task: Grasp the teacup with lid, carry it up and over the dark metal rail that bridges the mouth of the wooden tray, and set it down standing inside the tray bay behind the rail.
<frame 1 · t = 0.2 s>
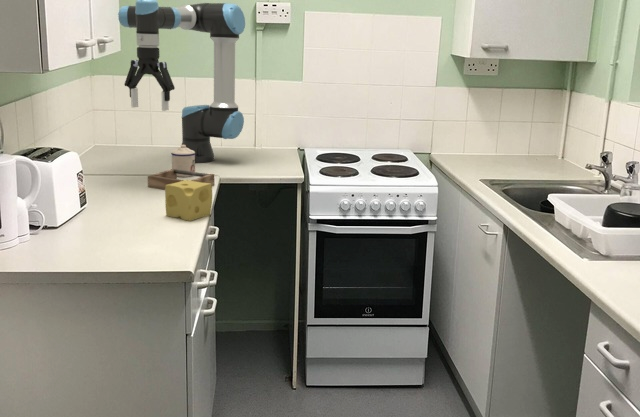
hand: (149, 108, 245), 27 cm above the counter, fingers open, 13 cm apart
wooden tray: (181, 186, 252), on the counter
teacup with lid: (183, 174, 272), on the counter
cheese: (188, 215, 216), on the counter
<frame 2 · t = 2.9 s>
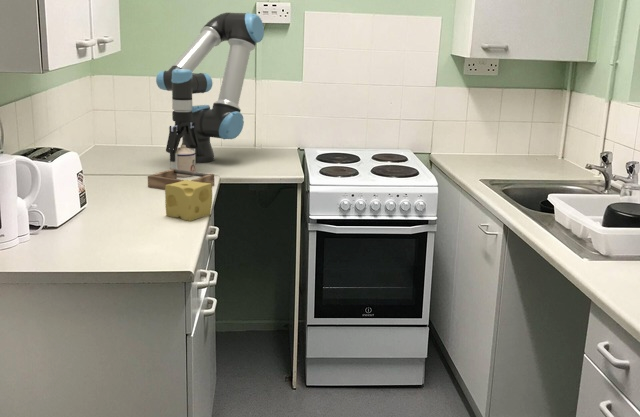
hand: (183, 167, 271), 3 cm above the counter, fingers open, 11 cm apart
teacup with lid: (183, 174, 272), on the counter, touching gripper
everything else where it was.
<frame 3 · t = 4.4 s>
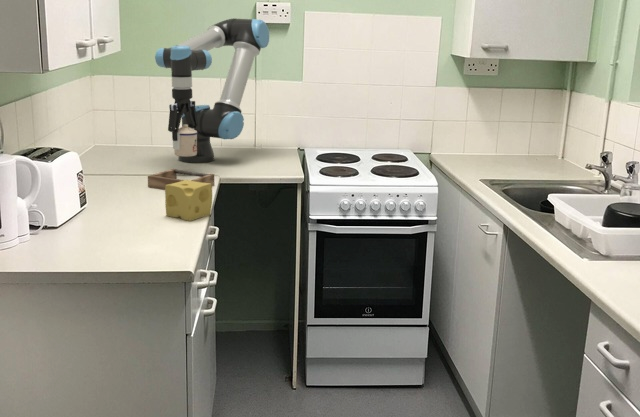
hand: (184, 146, 269), 11 cm above the counter, fingers closed on teacup with lid, 9 cm apart
teacup with lid: (185, 154, 271), point 7 cm above the counter, touching gripper
everything else where it was.
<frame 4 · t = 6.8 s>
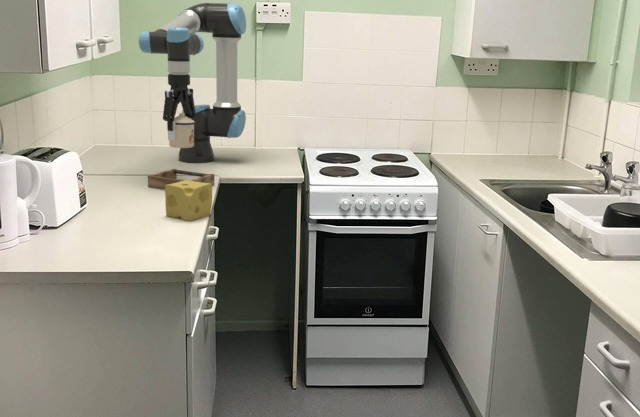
hand: (180, 138, 247), 17 cm above the counter, fingers closed on teacup with lid, 9 cm apart
teacup with lid: (181, 146, 249), point 14 cm above the counter, touching gripper
everything else where it was.
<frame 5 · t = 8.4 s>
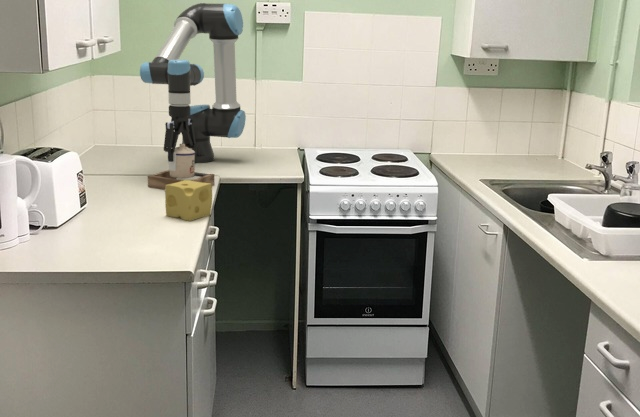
hand: (180, 168, 250), 7 cm above the counter, fingers closed on teacup with lid, 9 cm apart
teacup with lid: (182, 176, 252), point 4 cm above the counter, touching gripper
everything else where it was.
when the fingers open (4 cm above the counter, at t = 9.6 s): teacup with lid drops 1 cm, resting in wooden tray.
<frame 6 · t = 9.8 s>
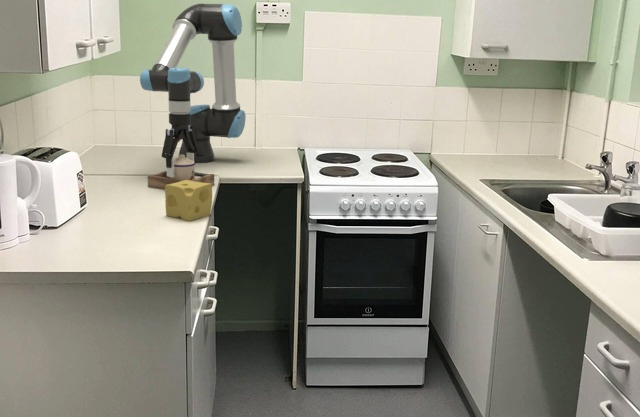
hand: (180, 173, 251), 5 cm above the counter, fingers open, 11 cm apart
teacup with lid: (182, 186, 253), resting in wooden tray
everything else where it was.
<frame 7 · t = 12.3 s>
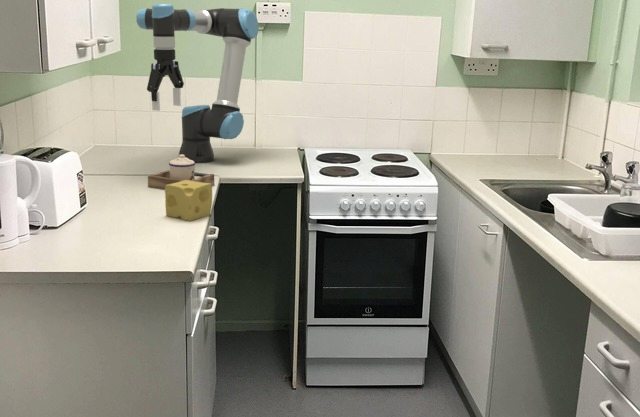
hand: (166, 108, 256), 27 cm above the counter, fingers open, 13 cm apart
nothing on the counter moved.
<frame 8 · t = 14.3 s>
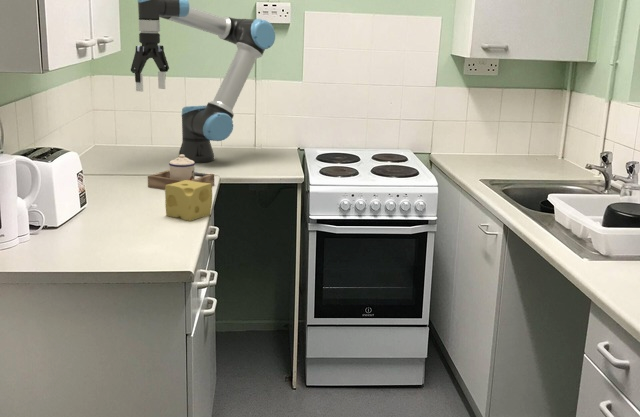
hand: (151, 90, 265), 32 cm above the counter, fingers open, 13 cm apart
nothing on the counter moved.
at the end: teacup with lid inside the target area on the wooden tray (0.4 cm from its centre), point 0.0 cm above the wooden tray's base; teacup with lid tilted 0°; the gripper is holding nothing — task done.
